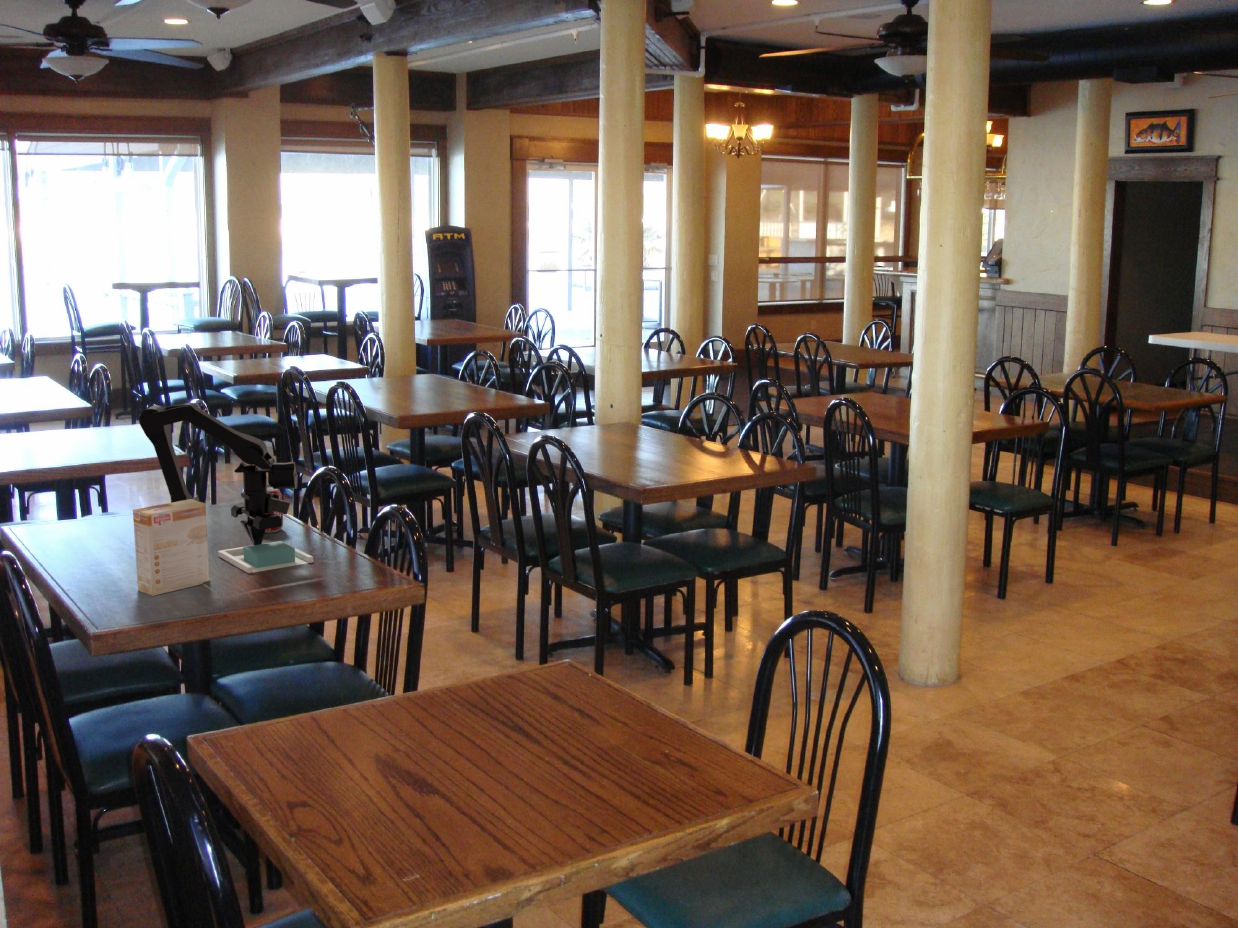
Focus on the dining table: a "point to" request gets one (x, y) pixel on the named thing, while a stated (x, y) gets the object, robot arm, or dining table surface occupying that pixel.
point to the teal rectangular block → (269, 554)
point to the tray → (237, 559)
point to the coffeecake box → (171, 546)
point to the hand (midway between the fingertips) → (257, 548)
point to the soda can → (271, 530)
